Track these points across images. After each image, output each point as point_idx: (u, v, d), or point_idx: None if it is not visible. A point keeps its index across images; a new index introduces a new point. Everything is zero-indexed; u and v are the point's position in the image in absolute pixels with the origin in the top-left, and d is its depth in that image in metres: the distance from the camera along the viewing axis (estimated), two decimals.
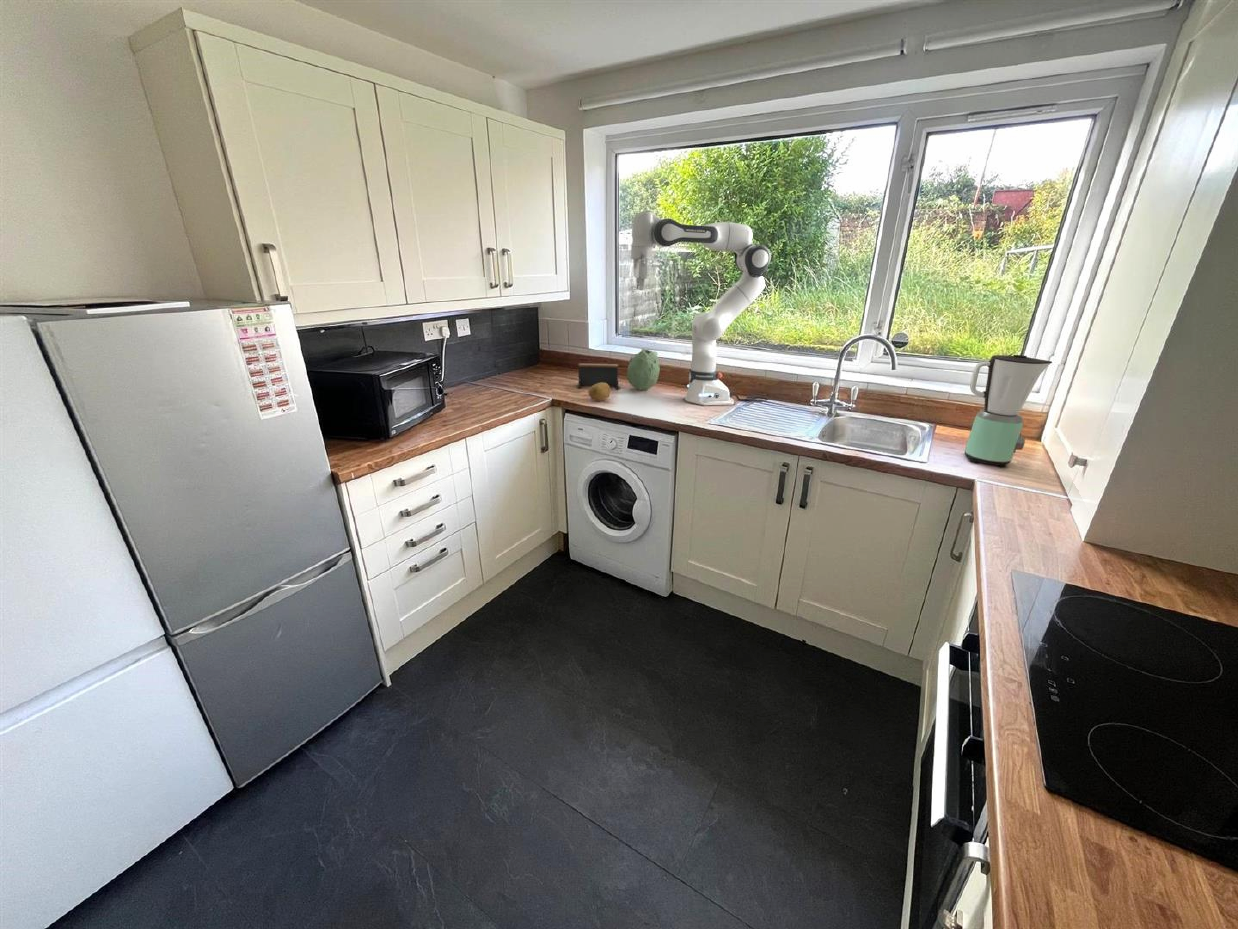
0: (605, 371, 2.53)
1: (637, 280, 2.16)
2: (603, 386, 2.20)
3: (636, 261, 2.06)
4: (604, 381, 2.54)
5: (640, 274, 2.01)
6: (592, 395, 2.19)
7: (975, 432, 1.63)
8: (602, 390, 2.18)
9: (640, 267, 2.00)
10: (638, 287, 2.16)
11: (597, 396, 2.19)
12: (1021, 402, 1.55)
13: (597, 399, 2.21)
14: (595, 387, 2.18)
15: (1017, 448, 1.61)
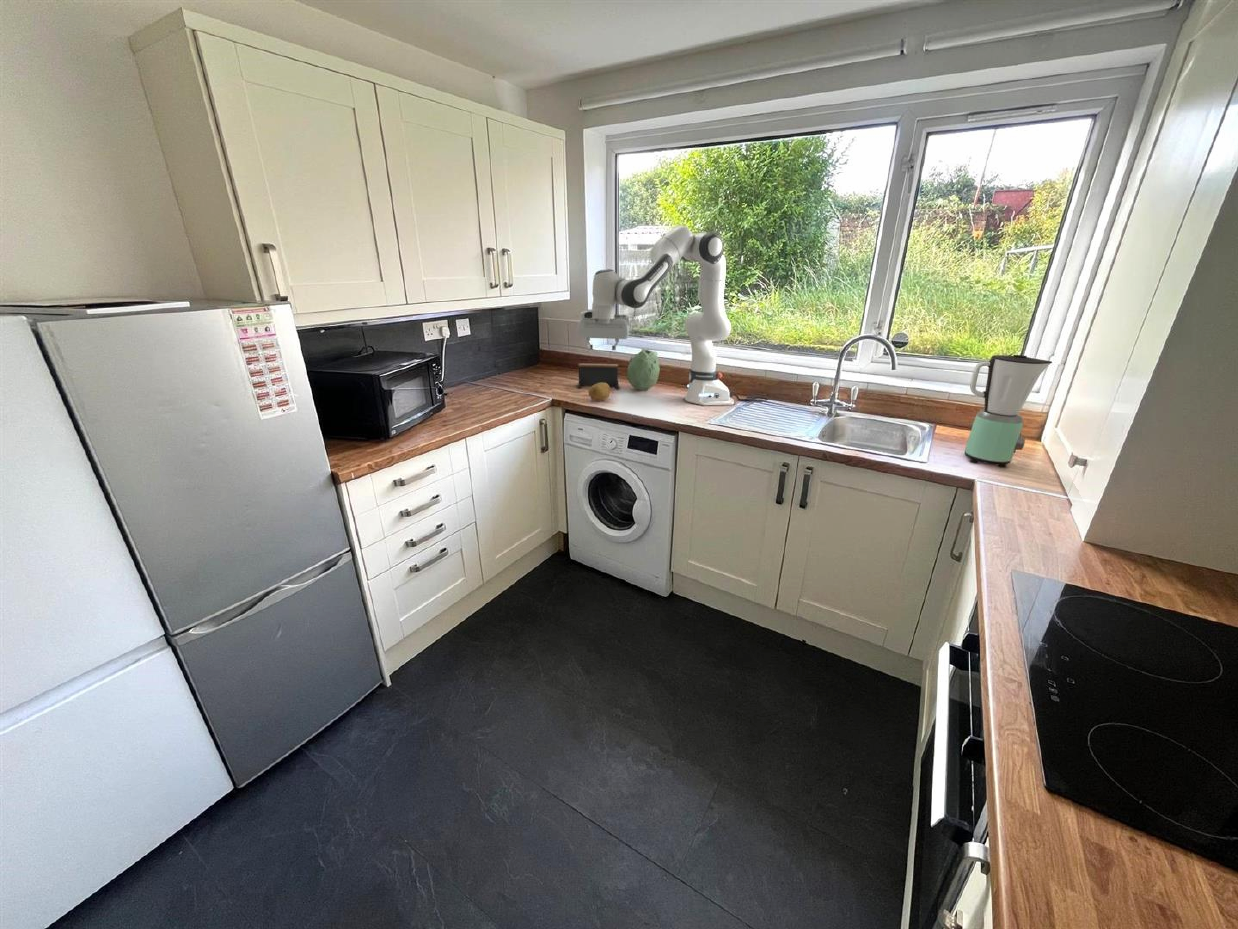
0: (605, 371, 2.53)
1: (589, 340, 1.97)
2: (603, 386, 2.20)
3: (608, 321, 1.93)
4: (604, 381, 2.54)
5: None
6: (592, 395, 2.19)
7: (975, 432, 1.63)
8: (602, 390, 2.18)
9: (627, 328, 1.96)
10: (592, 347, 1.98)
11: (597, 396, 2.19)
12: (1021, 402, 1.55)
13: (597, 399, 2.21)
14: (595, 387, 2.18)
15: (1017, 448, 1.61)
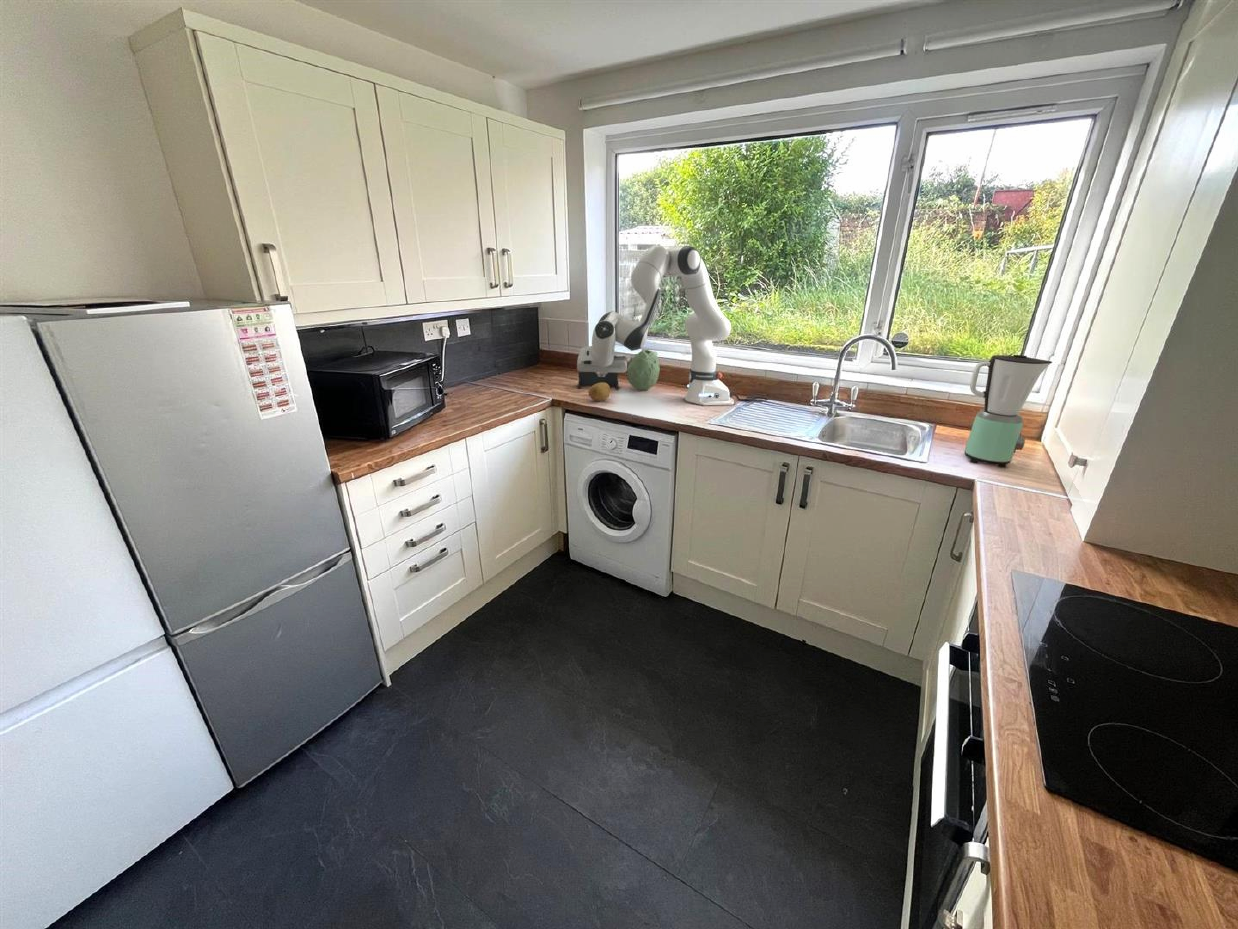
0: None
1: (598, 371, 2.03)
2: (603, 386, 2.20)
3: None
4: (604, 381, 2.54)
5: (626, 369, 2.01)
6: (592, 395, 2.19)
7: (975, 432, 1.63)
8: (602, 390, 2.18)
9: (626, 366, 1.99)
10: None
11: (597, 396, 2.19)
12: (1021, 402, 1.55)
13: (597, 399, 2.21)
14: (595, 387, 2.18)
15: (1017, 448, 1.61)
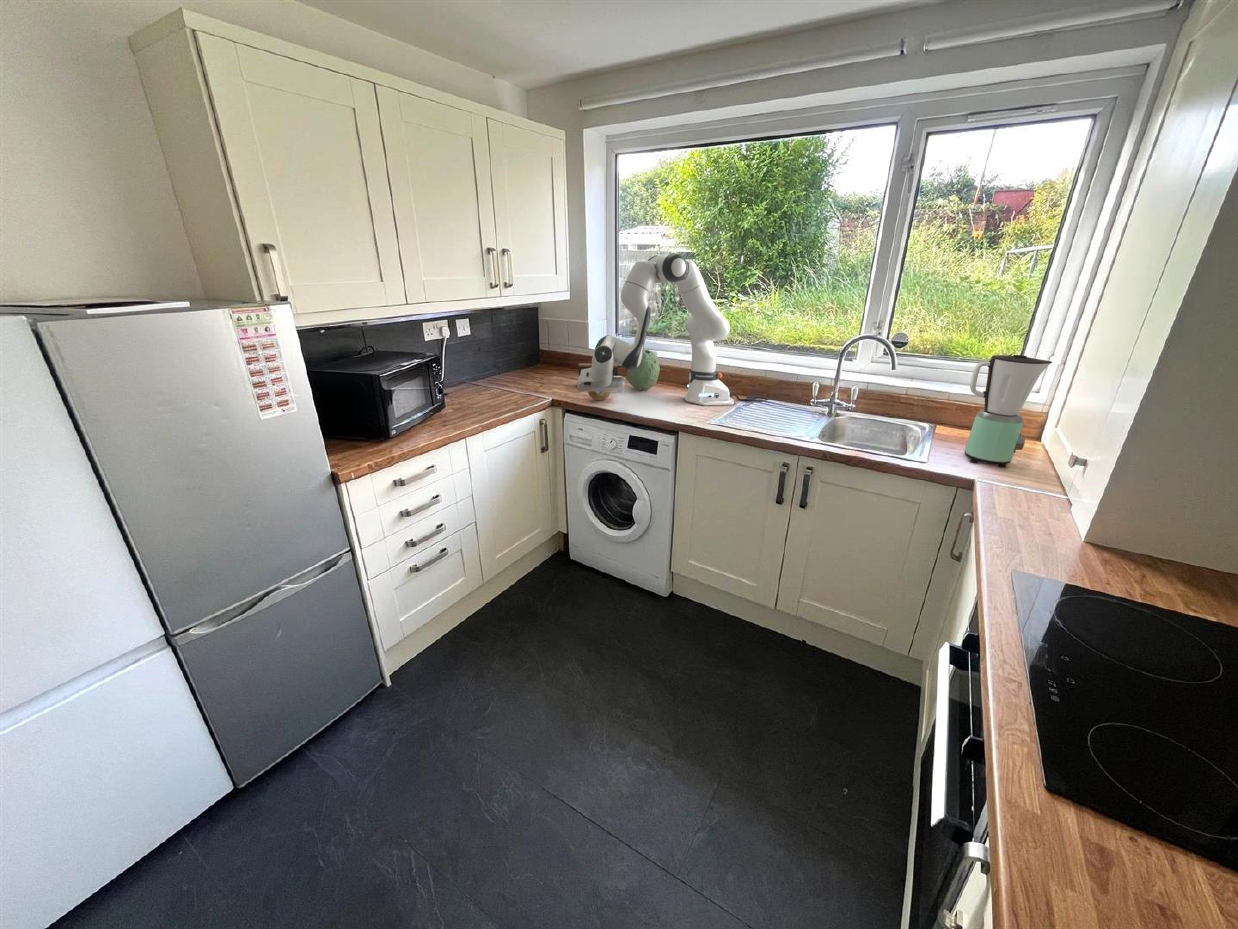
0: None
1: None
2: None
3: None
4: None
5: None
6: (592, 394, 2.20)
7: (975, 432, 1.63)
8: None
9: None
10: None
11: None
12: (1021, 402, 1.55)
13: (597, 398, 2.21)
14: None
15: (1017, 448, 1.61)
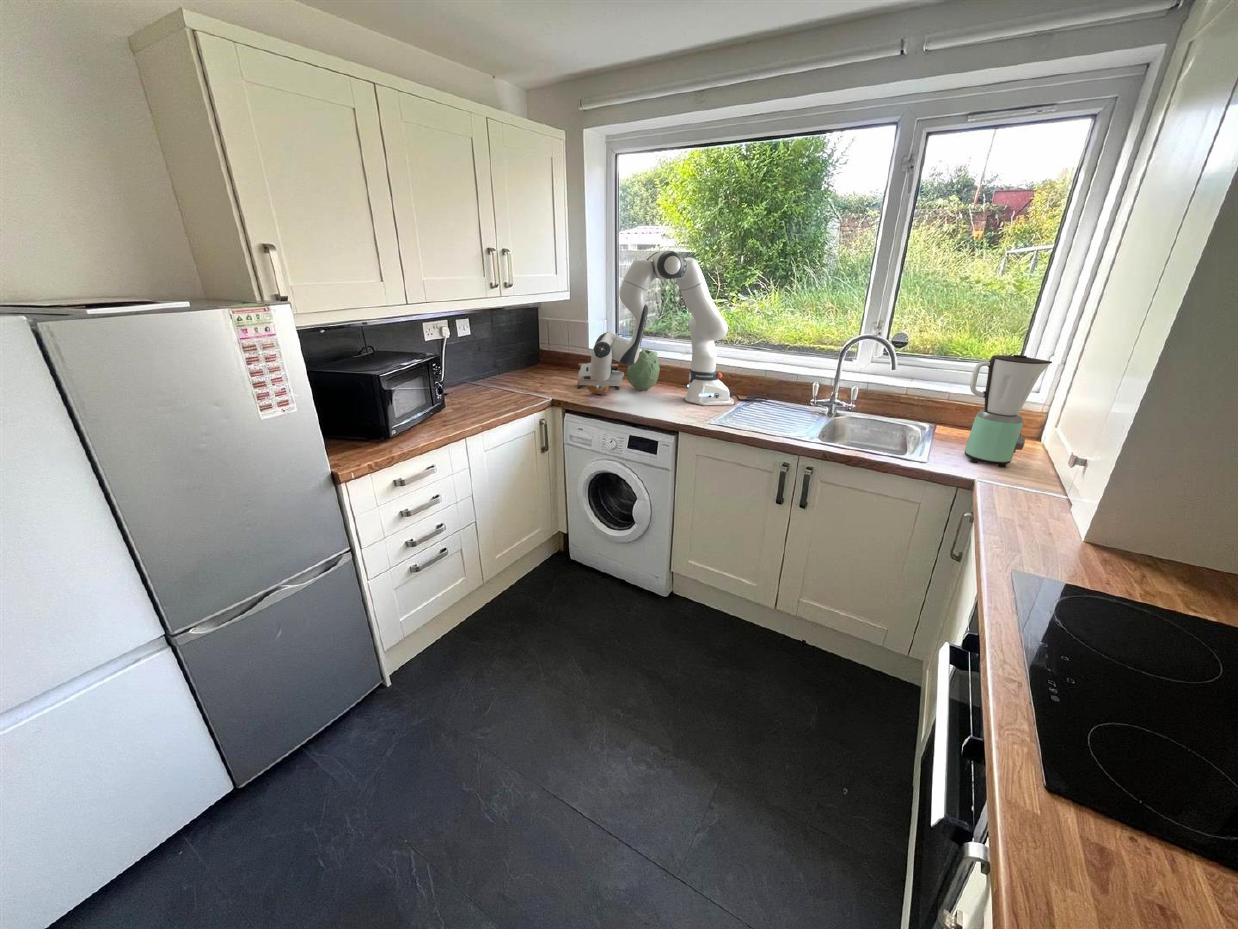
0: None
1: None
2: None
3: None
4: None
5: None
6: (591, 388, 2.31)
7: (975, 432, 1.63)
8: None
9: None
10: None
11: (596, 389, 2.31)
12: (1021, 402, 1.55)
13: (596, 392, 2.32)
14: None
15: (1017, 448, 1.61)
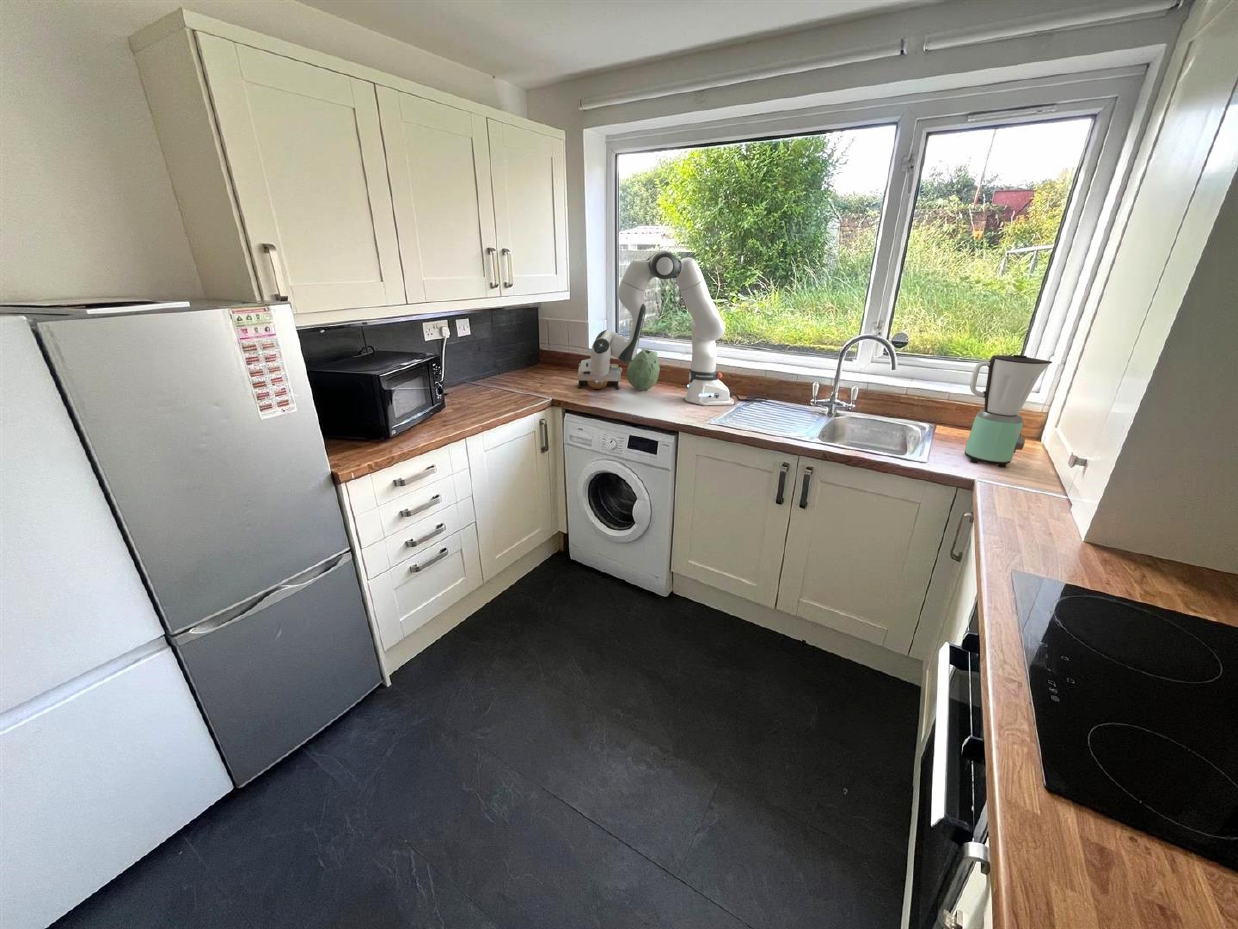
0: None
1: None
2: None
3: None
4: None
5: (620, 378, 2.34)
6: (591, 383, 2.41)
7: (975, 432, 1.63)
8: None
9: (620, 375, 2.32)
10: None
11: (595, 384, 2.40)
12: (1021, 402, 1.55)
13: (595, 387, 2.42)
14: None
15: (1017, 448, 1.61)
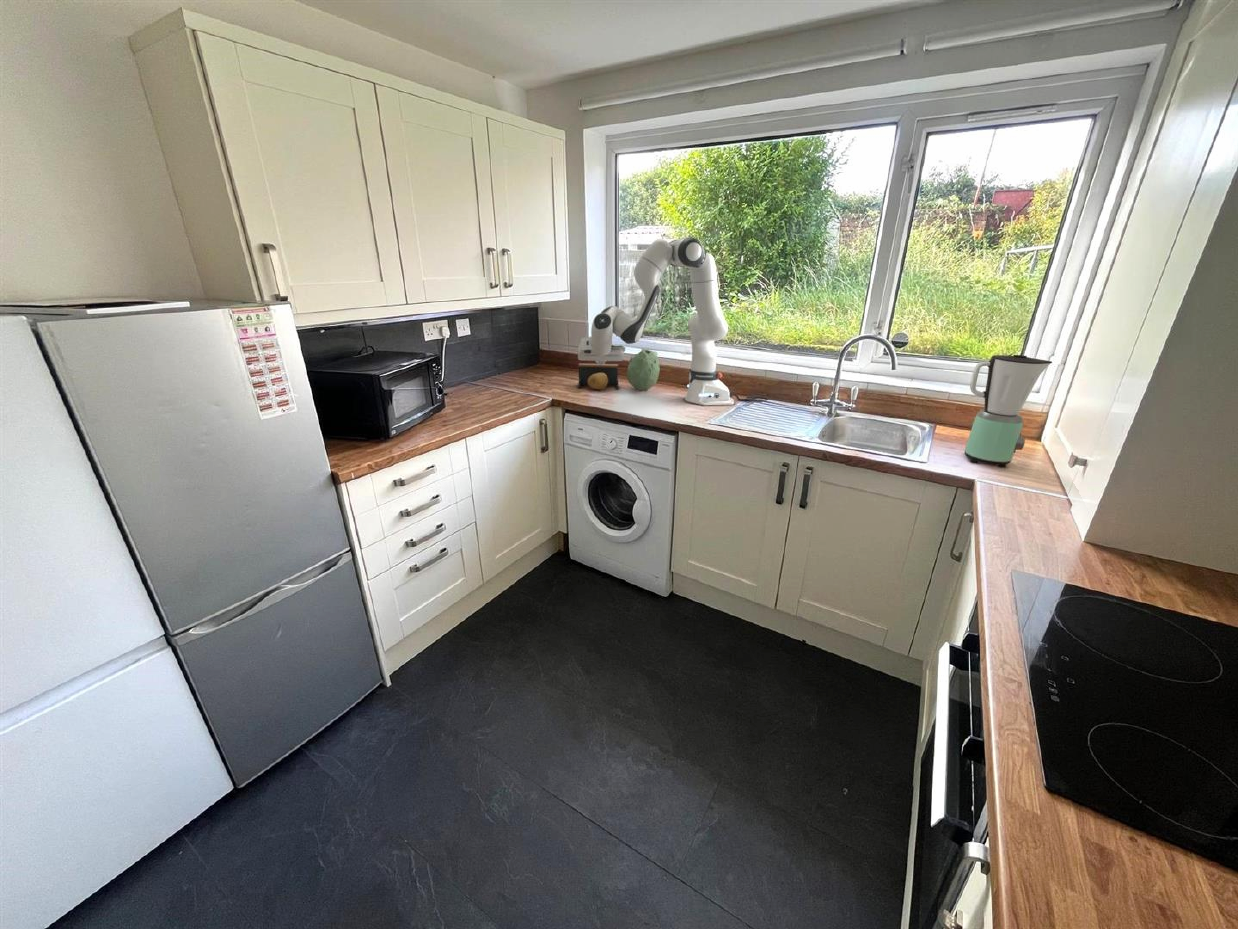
0: (605, 371, 2.53)
1: (598, 360, 2.21)
2: (601, 375, 2.42)
3: None
4: None
5: (623, 358, 2.19)
6: (591, 384, 2.41)
7: (975, 432, 1.63)
8: (600, 379, 2.40)
9: (623, 354, 2.17)
10: None
11: (595, 385, 2.40)
12: (1021, 402, 1.55)
13: (595, 387, 2.42)
14: (594, 376, 2.40)
15: (1017, 448, 1.61)
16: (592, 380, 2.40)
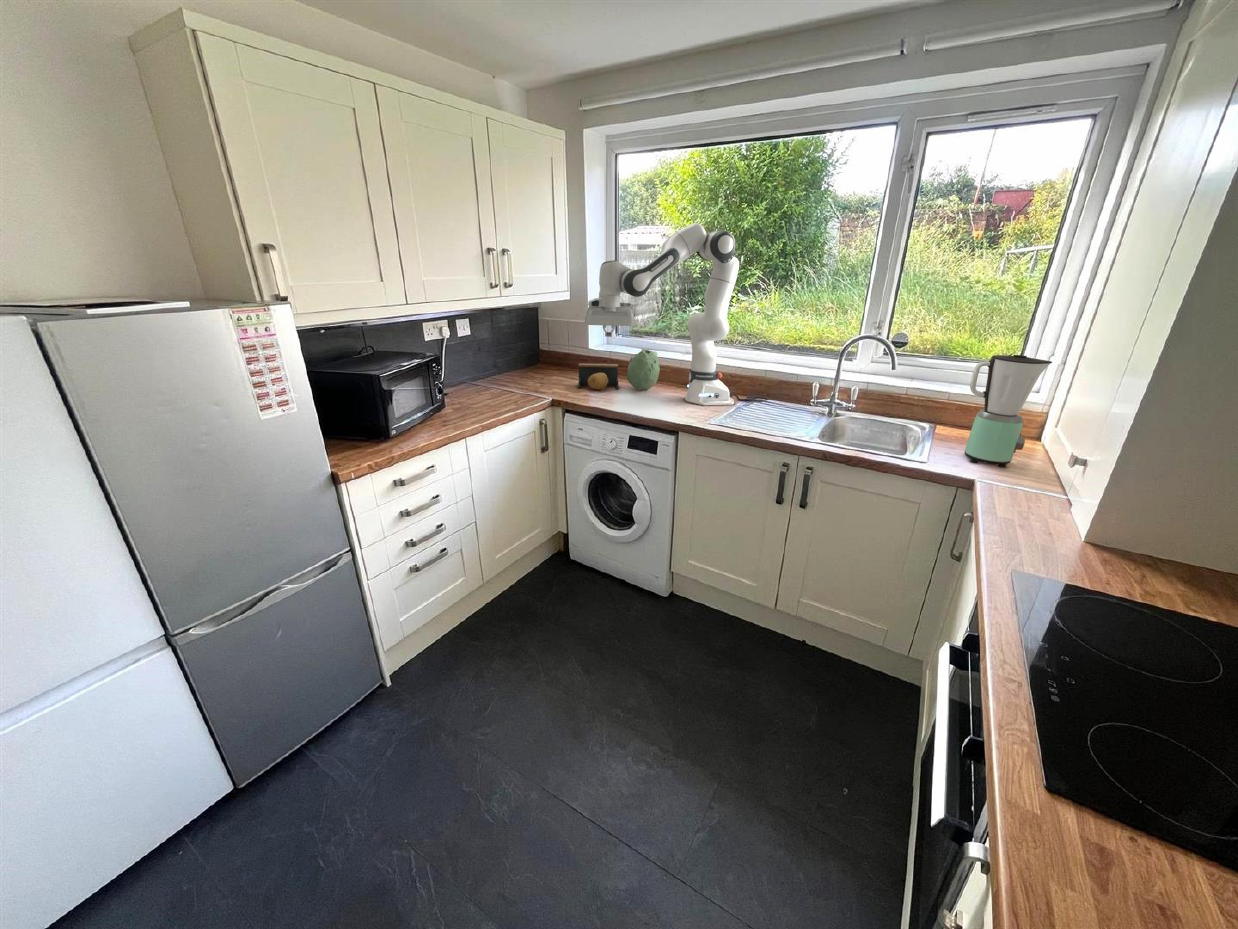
0: (605, 371, 2.53)
1: None
2: (601, 375, 2.42)
3: (614, 309, 2.05)
4: None
5: (632, 322, 2.09)
6: (591, 384, 2.41)
7: (975, 432, 1.63)
8: (600, 379, 2.40)
9: (632, 315, 2.07)
10: None
11: (595, 385, 2.40)
12: (1021, 402, 1.55)
13: (595, 387, 2.42)
14: (594, 376, 2.40)
15: (1017, 448, 1.61)
16: (592, 380, 2.40)
